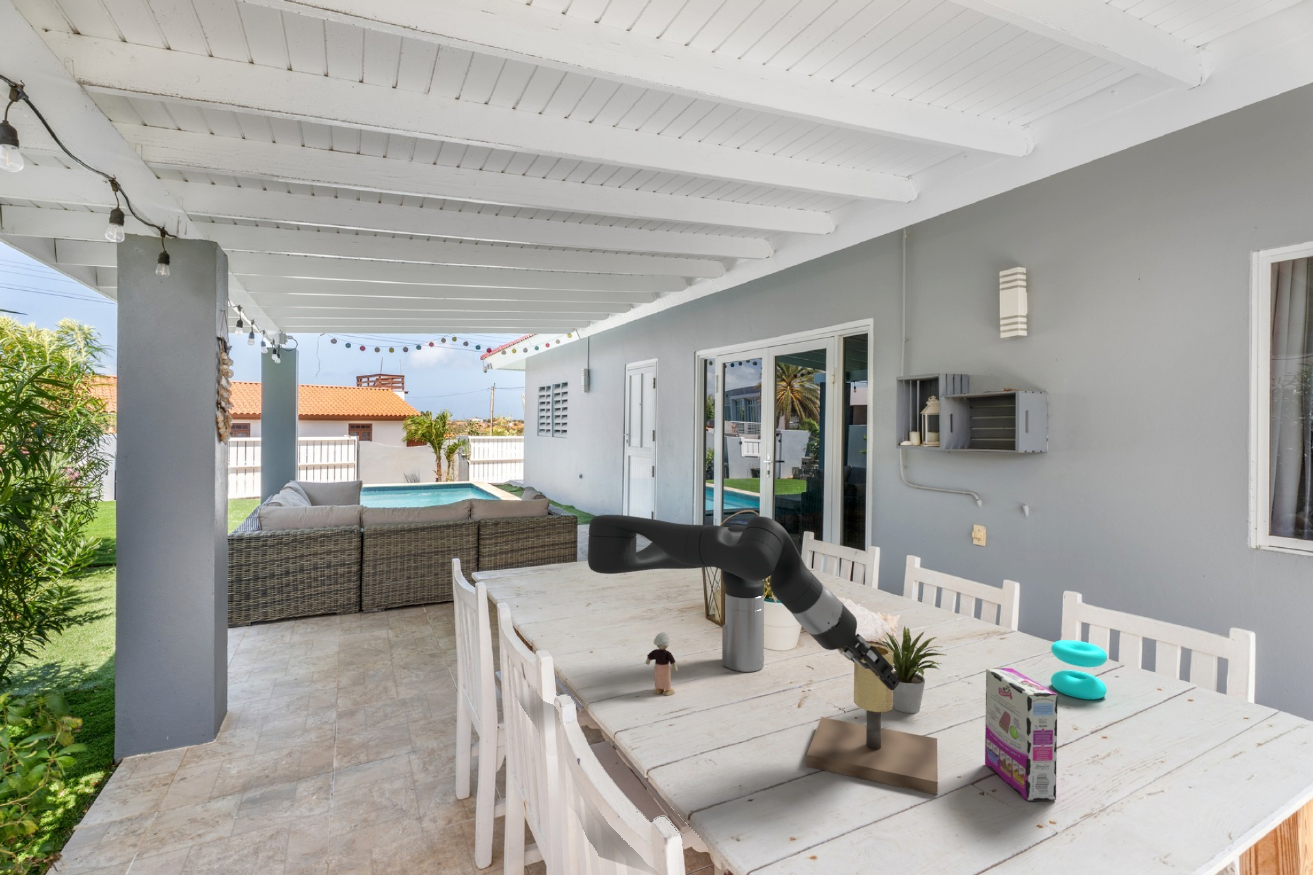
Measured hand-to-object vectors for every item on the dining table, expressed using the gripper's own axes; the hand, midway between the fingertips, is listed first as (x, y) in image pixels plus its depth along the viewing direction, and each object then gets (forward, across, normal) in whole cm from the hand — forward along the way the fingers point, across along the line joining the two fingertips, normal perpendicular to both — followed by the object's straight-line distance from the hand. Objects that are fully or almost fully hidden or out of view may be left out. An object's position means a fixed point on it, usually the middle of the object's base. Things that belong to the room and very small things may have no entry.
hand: (882, 677), depth 108 cm
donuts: (+51, -12, +31) cm, 61 cm away
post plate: (+9, 0, -11) cm, 14 cm away
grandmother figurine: (-10, -36, -30) cm, 48 cm away
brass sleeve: (+2, 0, -4) cm, 5 cm away
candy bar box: (+22, +13, +2) cm, 25 cm away
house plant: (+21, -14, +1) cm, 25 cm away
